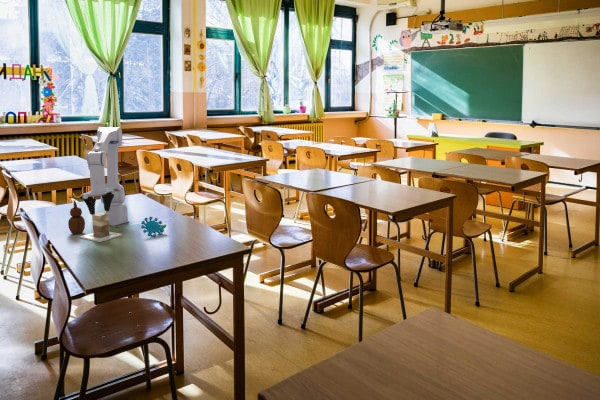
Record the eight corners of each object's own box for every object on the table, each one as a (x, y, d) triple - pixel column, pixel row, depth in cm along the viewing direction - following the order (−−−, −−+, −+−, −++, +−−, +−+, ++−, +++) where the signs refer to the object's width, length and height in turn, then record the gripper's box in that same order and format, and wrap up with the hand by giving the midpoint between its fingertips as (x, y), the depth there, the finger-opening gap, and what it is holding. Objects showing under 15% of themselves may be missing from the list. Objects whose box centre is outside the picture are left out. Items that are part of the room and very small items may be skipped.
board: (102, 231, 243) (102, 229, 242) (122, 235, 237) (122, 233, 237) (79, 237, 232) (79, 236, 232) (99, 242, 227) (99, 240, 226)
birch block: (101, 222, 236) (100, 212, 236) (108, 224, 234) (108, 213, 233) (92, 225, 233) (92, 214, 232) (100, 226, 230) (99, 216, 230)
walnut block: (102, 233, 237) (101, 222, 237) (109, 234, 235) (108, 224, 234) (93, 235, 234) (92, 225, 233) (100, 237, 231) (100, 226, 231)
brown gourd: (78, 235, 236) (76, 201, 233) (66, 234, 237) (64, 200, 234) (88, 231, 242) (85, 198, 239) (76, 230, 243) (73, 197, 240)
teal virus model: (143, 235, 231) (139, 215, 236) (139, 243, 235) (136, 223, 240) (169, 235, 237) (164, 215, 242) (164, 242, 241) (160, 223, 246)
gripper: (90, 184, 222) (92, 217, 224) (118, 179, 234) (120, 210, 237) (78, 182, 225) (80, 215, 228) (106, 177, 237) (108, 208, 240)
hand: (99, 212), depth 232 cm, fingers open, 7 cm apart
